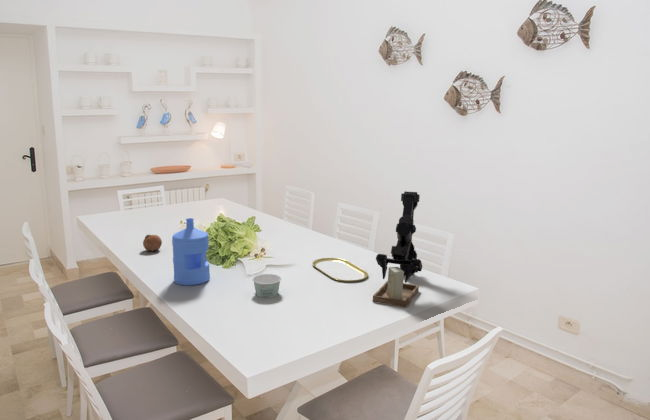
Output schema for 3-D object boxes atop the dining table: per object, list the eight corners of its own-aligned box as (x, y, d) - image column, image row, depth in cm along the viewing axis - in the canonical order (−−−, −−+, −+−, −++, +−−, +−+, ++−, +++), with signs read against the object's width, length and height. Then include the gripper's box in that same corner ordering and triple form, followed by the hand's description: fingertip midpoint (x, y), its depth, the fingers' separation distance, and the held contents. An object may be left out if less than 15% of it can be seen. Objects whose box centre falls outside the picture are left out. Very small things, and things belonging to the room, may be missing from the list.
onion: (145, 257, 267) (135, 241, 264) (155, 248, 275) (146, 232, 272) (158, 253, 263) (148, 237, 260) (168, 243, 271) (159, 228, 268)
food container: (254, 299, 205) (254, 284, 203) (250, 289, 216) (250, 274, 215) (283, 297, 208) (283, 282, 206) (278, 287, 219) (278, 272, 218)
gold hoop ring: (339, 286, 223) (339, 282, 223) (306, 263, 253) (306, 260, 253) (375, 280, 231) (375, 276, 231) (338, 258, 262) (339, 256, 261)
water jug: (166, 282, 223) (163, 220, 217) (191, 272, 236) (188, 213, 230) (193, 288, 216) (191, 224, 210) (217, 277, 229) (215, 217, 223)
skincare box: (386, 294, 211) (387, 267, 208) (396, 293, 212) (397, 266, 210) (393, 300, 205) (394, 272, 202) (402, 299, 206) (404, 271, 204)
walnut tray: (387, 286, 223) (387, 280, 222) (418, 291, 217) (418, 285, 217) (372, 301, 205) (372, 295, 204) (406, 307, 199) (406, 301, 199)
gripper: (378, 235, 210) (368, 267, 203) (422, 240, 203) (414, 274, 195) (382, 248, 219) (373, 280, 211) (425, 254, 212) (417, 287, 204)
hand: (394, 280), depth 205 cm, fingers open, 9 cm apart
